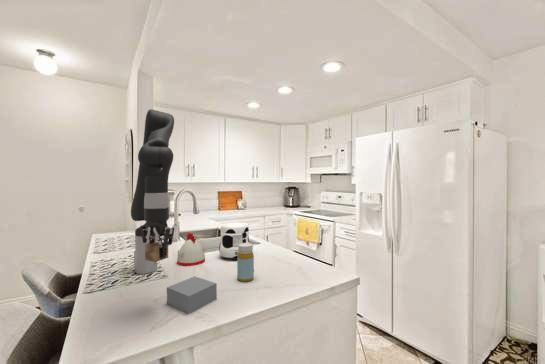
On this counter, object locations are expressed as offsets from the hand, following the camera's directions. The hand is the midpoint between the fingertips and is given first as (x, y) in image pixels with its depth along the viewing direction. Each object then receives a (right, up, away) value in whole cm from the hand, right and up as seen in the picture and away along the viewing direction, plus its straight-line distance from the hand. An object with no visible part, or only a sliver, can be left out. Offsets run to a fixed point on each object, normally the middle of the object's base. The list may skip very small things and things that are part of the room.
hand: (157, 256), depth 84 cm
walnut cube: (0, -1, 0) cm, 1 cm away
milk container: (+18, -17, +57) cm, 62 cm away
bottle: (+27, -17, +25) cm, 41 cm away
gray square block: (+10, -18, +5) cm, 21 cm away
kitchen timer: (-4, -17, +48) cm, 51 cm away
